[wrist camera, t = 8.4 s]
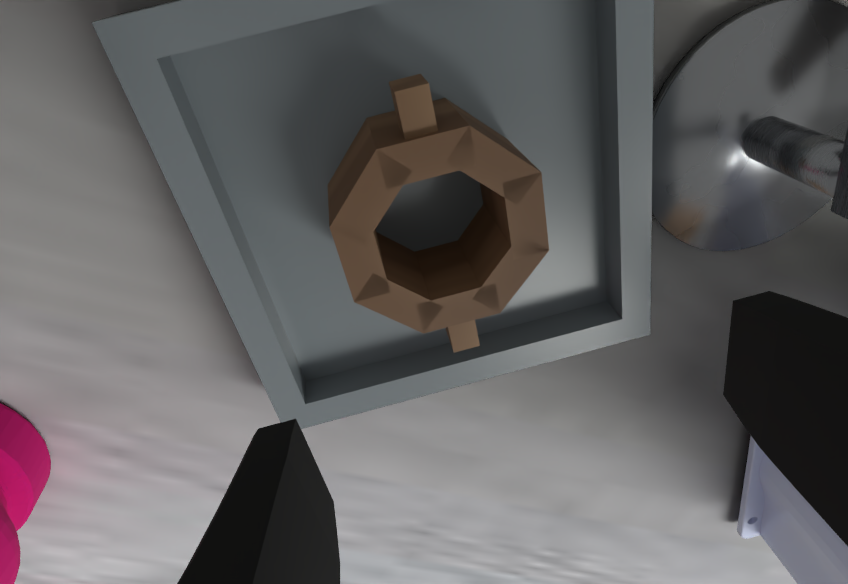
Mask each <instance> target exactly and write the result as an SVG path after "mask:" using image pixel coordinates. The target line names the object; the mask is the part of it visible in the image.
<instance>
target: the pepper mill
mask: <svg viewBox="0 0 848 584" xmlns="http://www.w3.org/2000/svg"><path fill="white" fill-rule="evenodd" d="M50 469H51V460H50V455H49V452H48V449H47V446H46V443H45V441H44V440H43V438H42V437H41V436H40V434H39V433H38V432H37V430H36V429H35V428H34V426H33V425H32V424H31V423H30V422H29V421H27V420H26V419H25V418H23V417H22V416H21V415H20V414H18V413H17V412H16V411H14V410H12V409H11V408H9V407H7V406H5V405H3V404H1V403H0V584H14V582H15V580H16V577H17V573H18V569H19V566H20V546H19V540H18V535H17V532H16V531H17V530H18V529H20V528H21V527H22V526H23V524H24V523H25V522H26V521H27V519H28V517H29V516H30V514H31V512H32V510H33V508H34V506H35V504H36V502H37V500H38V498H39V496H40V495H41V493H42V491H43V489H44V487H45V485H46V483H47V480H48V478H49V475H50Z"/></svg>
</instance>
